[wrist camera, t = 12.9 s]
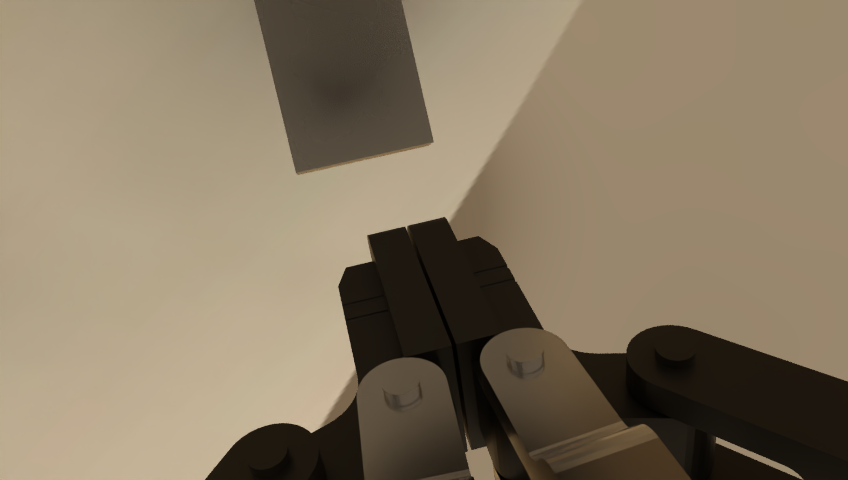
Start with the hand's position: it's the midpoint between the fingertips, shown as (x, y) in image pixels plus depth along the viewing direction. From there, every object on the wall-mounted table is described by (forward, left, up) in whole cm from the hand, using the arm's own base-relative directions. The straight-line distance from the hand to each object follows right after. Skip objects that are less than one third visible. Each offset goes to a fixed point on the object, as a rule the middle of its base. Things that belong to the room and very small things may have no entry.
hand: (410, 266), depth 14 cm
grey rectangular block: (-1, 0, -10) cm, 11 cm away
